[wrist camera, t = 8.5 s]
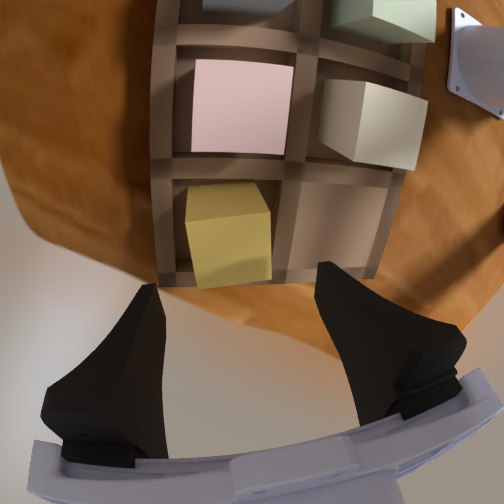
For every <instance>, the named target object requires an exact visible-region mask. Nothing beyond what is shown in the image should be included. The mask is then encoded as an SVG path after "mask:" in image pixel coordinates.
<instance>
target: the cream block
mask: <svg viewBox="0 0 504 504" xmlns="http://www.w3.org/2000/svg"><path fill="white" fill-rule="evenodd" d="M427 107H428V101H426V100H423V99H421V98H418V97H415V96H412V95H409V94H406V93H403V92H400V91H397V90H393V89H390V88H387V87H383V86H380V85H376V84H373V83H369V82H364V81H352V80H336V79H325V81H324V90H323V98H322V106H321V113H320V121H319V128H318V135H317V140H318V141H320V142H321V143H323V144H325V145H327V146H328V147H330V148H332V149H333V150H335V151H337V152H339V153H340V154H342V155H344V156H345V157H347V158H349V159H350V160H352V161H354V162H361V163H369V164H376V165H382V166H389V167H395V168H401V169H407V170H413V171H415V167H416V163H417V158H418V154H419V149H420V144H421V140H422V135H423V129H424V124H425V118H426V113H427Z"/></svg>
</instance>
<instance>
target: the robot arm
mask: <svg viewBox="0 0 504 504" xmlns="http://www.w3.org/2000/svg"><path fill="white" fill-rule="evenodd" d="M461 16H462V17H461ZM447 88H448V90H449V91H450V92H452V93H454V94H456V95H458V96H460V97H462V98H464V99H466V100H468V101H470V102H472V103H474V104H476V105H478V106H480V107H482V108H484V109H485V110H487V111H489V112H491V113H492V114H494V115H496V116H498V117H499V118H501V119H503V120H504V27H501V26H486V25H482V24H481V23H479V22H478V21H477V20H475V19H474V18H472V17H471V16H469V15H468V14H467V13H465V12H464V11H462V10H461V9H459V8H457V7H455V8H452V32H451V50H450V62H449V72H448V81H447ZM456 88H457V89H456ZM314 298H315V301H316V304H317V308H318V310H319V313H320V316H321V318H322V320H323V322H324V324H325V326H326V328H327V330H328V332H329V334H330V336H331V338H332V341H333V343H334V345H335V347H336V349H337V351H338V353H339V355H340V358H341V360H342V363H343V366H344V369H345V372H346V375H347V378H348V381H349V384H350V388H351V391H352V394H353V398H354V402H355V406H356V410H357V414H358V419H359V424H360V427H358V428H355V429H351V430H348V431H345V432H341V433H338V434H334V435H331V436H327V437H323V438H319V439H315V440H311V441H307V442H303V443H298V444H293V445H289V446H284V447H279V448H273V449H268V450H261V451H255V452H248V453H241V454H233V455H225V456H214V457H200V458H182V459H169V457H168V451H167V445H166V437H165V427H164V417H163V403H162V375H163V364H164V363H163V362H164V354H165V344H166V316H165V313H164V310H163V307H162V303H161V300H160V297H159V294H158V290H157V287H156V283H154V284H145V285H142V286H141V288H140V289H139V290H138V292H137V294H136V295H135V297H134V298H133V300H132V301H131V303H130V304H129V306H128V308H127V309H126V311H125V312H124V314H123V315H122V317H121V318H120V319H119V321H118V322H117V324H116V325H115V326H114V328H113V329H112V330H111V332H110V333H109V334H108V335H107V337H106V338H105V339H104V340H103V341H102V342H101V344H100V345H99V346H98V347H97V348H96V349H95V350H94V351H93V352H92V353H91V354H90V355H89V356H88V357H87V358H86V359H85V360H84V361H83V362H82V363H81V364H79V365H78V366H77V367H76V368H75V369H73V370H72V371H71V372H70V373H68V374H67V375H66V376H64V377H63V378H62V379H60V380H59V381H57V382H56V383H54V384H53V385H51V386H50V387H48V388H47V391H46V394H45V398H44V402H43V406H42V410H41V419H42V421H43V422H44V424H45V425H46V426H47V427H48V428H49V429H51V430H52V431H53V432H54V433H55V434H57V435H58V436H59V437H60V438H62V439H63V445H62V446H60V445H57V444H54V443H49V442H44V441H39V440H35V441H34V444H33V449H32V455H31V462H30V469H29V476H28V485H27V491H28V492H30V493H31V494H33V495H36V496H38V497H40V498H42V499H44V500H46V501H49V502H51V503H53V504H405V502H404V499H403V496H402V494H401V491H400V489H399V486H398V483H397V481H396V480H397V479H399V478H401V477H403V476H405V475H407V474H409V473H411V472H413V471H415V470H417V469H419V468H421V467H422V466H424V465H426V464H428V463H429V462H431V461H433V460H435V459H437V458H438V457H440V456H442V455H444V454H445V453H447V452H448V451H450V450H452V449H453V448H455V447H457V446H458V445H460V444H461V443H463V442H465V441H466V440H468V439H469V438H471V437H472V436H474V435H475V434H477V433H478V432H479V431H480V430H481V429H482V428H484V427H485V426H486V425H487V424H488V423H489V422H490V421H491V420H492V419H493V418H494V417H495V416H497V414H499V412H501V411H502V410H503V409H504V405H503V404H502V402H501V400H500V399H499V397H498V395H497V394H496V392H495V391H494V389H493V388H492V386H491V384H490V383H489V381H488V380H487V378H486V377H485V375H484V374H483V372H482V371H481V369H480V368H478V369H476V370H474V371H472V372H470V373H468V374H467V375H465V376H463V377H462V378H461V379H459V380H457V378H456V377H455V375H456V374H457V370H456V369H455V367H454V366H455V364H456V363H457V361H458V360H459V358H460V357H461V355H462V353H463V351H464V350H465V348H466V344H467V341H466V338H465V337H464V335H463V334H462V333H461V331H460V330H459V329H458V328H457V326H456V325H452V324H448V323H444V322H440V321H436V320H433V319H430V318H427V317H424V316H421V315H419V314H416V313H414V312H411V311H409V310H407V309H404V308H402V307H400V306H398V305H396V304H394V303H392V302H390V301H389V300H387V299H385V298H383V297H381V296H380V295H378V294H377V293H375V292H373V291H372V290H370V289H369V288H367V287H366V286H364V285H363V284H362V283H360V282H359V281H357V280H356V279H355V278H353V277H352V276H350V275H349V274H348V273H346V272H345V271H344V270H342V269H341V268H340V267H338V266H337V265H336V264H334V263H333V262H331V261H325V262H318V265H317V275H316V285H315V294H314Z"/></svg>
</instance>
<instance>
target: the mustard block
mask: <svg viewBox="0 0 504 504" xmlns="http://www.w3.org/2000/svg"><path fill="white" fill-rule="evenodd" d="M185 225H186V230H187V236H188V241H189V247H190V252H191V258H192V263H193V268H194V273H195V278H196V283H197V288H198V289H206V288H214V287H221V286H228V285H236V284H243V283H250V282H257V281H264V280H271V279H272V265H271V219H270V210H269V208H268V206H267V205H266V203H265V201H264V199H263V197H262V195H261V193H260V191H259V189H258V188H257V186H256V184H255V182H254V180H253V179H244V180H235V181H226V182H218V183H210V184H202V185H195V186H188V193H187V205H186V217H185Z"/></svg>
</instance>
